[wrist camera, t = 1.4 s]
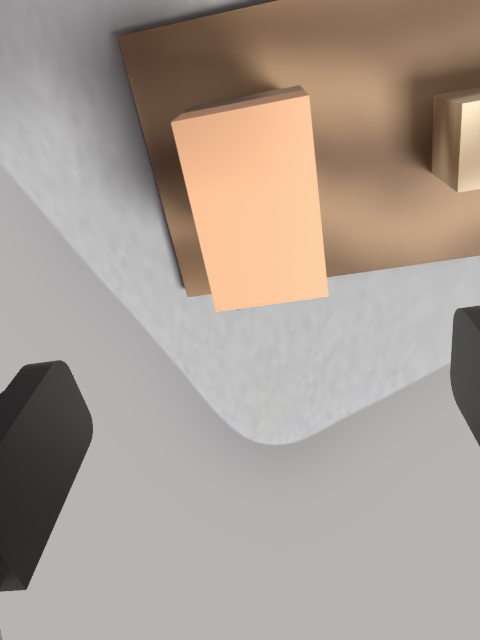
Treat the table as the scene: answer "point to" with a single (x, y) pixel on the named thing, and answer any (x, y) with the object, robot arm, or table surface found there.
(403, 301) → the table surface
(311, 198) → the cover
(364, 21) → the twin stand
